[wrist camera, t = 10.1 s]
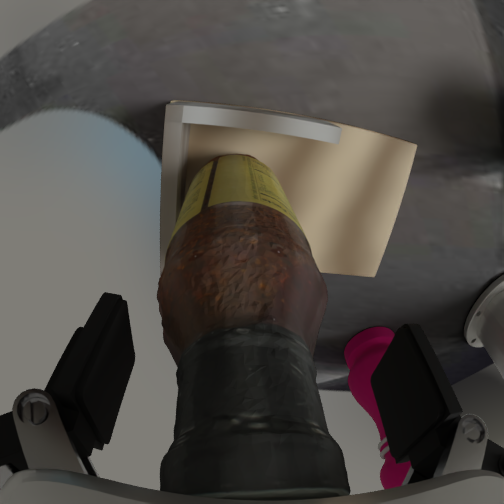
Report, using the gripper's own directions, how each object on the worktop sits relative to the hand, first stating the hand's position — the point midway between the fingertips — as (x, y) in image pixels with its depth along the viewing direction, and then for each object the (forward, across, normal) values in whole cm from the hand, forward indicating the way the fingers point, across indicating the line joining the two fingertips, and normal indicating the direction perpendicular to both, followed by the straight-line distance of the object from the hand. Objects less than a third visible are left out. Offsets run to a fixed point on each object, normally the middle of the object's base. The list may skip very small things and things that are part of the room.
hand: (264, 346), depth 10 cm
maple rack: (+15, -2, 0) cm, 15 cm away
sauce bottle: (+14, +2, 0) cm, 14 cm away
